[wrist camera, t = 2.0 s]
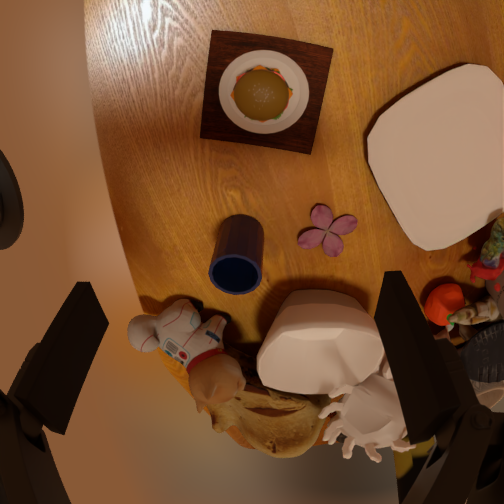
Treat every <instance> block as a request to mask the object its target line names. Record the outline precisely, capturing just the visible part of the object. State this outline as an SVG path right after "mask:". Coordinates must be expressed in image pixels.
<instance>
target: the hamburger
mask: <svg viewBox="0 0 504 504" xmlns="http://www.w3.org/2000/svg"><path fill="white" fill-rule="evenodd" d="M332 54H333V48H328V47H324V46H320V45H316V44H311V43H306V42H301V41H296V40H291V39H285V38H279V37H273V36H266V35H258V34H250V33H242V32H231V31H219V30H212V33H211V41H210V48H209V56H208V64H207V72H206V81H205V90H204V100H203V110H202V120H201V131H200V138H204V139H213V140H221V141H229V142H236V143H244V144H251V145H257V146H264V147H270V148H276V149H282V150H288V151H293V152H299V153H304V154H309V155H311V151H312V147H313V142H314V138H315V133H316V129H317V125H318V120H319V116H320V111H321V106H322V102H323V97H324V92H325V88H326V83H327V78H328V73H329V68H330V64H331V59H332Z"/></svg>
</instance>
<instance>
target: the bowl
mask: <svg viewBox="0 0 504 504" xmlns="http://www.w3.org/2000/svg"><path fill="white" fill-rule="evenodd" d="M383 355H384V347H383V344H382V341H381V338H380V335H379V332H378V329H377V326H376V323H375V321H374V320H373V319H372V318H371V316H370V315H369V314H368V313H367V312H366V311H365V310H364V308H363V307H362V306H361V305H360V304H359V302H358V301H357V300H356V299H355V298H353V297H351V296H348V295H346V294H343V293H339V292H335V291H331V290H318V289H307V290H296V291H293V292H291V293H290V294H289V296H288V297H287V298H286V299H285V301H284V302H283V304H282V306H281V308H280V309H279V311H278V313H277V315H276V317H275V320H274V322H273V324H272V326H271V328H270V330H269V332H268V334H267V336H266V338H265V340H264V342H263V344H262V346H261V348H260V350H259V352H258V354H257V372H258V374H259V377H260V379H261V381H262V384H263V385H264V386H267V387H270V388H273V389H277V390H280V391H285V392H291V393H299V394H329V393H330V392H332V390H333V389H334V388H335V387H338V386H340V385H342V384H347V385H351V386H356V385H358V384H359V383H361V382H362V381H364V380H365V379H366V378H367V377H368V376H369V375H370V374H371V373H372V372H373V371H374V370H375V369H376V368H377V366H378V364H379V362H380V360H381V359H382V357H383Z"/></svg>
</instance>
